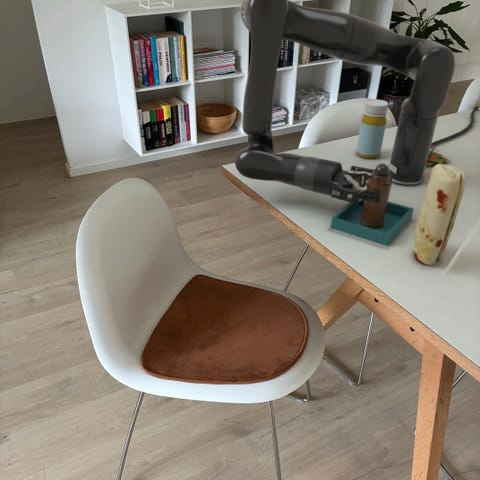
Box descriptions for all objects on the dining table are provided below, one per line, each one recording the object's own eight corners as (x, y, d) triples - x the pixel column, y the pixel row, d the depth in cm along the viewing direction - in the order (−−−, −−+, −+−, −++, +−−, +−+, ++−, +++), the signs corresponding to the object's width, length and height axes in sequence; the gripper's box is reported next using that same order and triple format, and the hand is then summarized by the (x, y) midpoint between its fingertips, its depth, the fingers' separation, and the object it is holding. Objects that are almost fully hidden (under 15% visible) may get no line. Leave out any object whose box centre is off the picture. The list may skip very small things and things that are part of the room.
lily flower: (458, 164, 151) (463, 148, 148) (427, 171, 147) (431, 155, 144) (428, 150, 159) (432, 135, 156) (398, 156, 155) (401, 141, 152)
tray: (357, 204, 130) (360, 193, 128) (411, 220, 124) (414, 208, 122) (329, 230, 119) (331, 217, 117) (386, 248, 114) (389, 235, 112)
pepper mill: (365, 214, 124) (376, 157, 115) (387, 221, 122) (400, 163, 113) (355, 224, 120) (365, 165, 112) (378, 231, 118) (390, 171, 109)
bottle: (379, 160, 152) (390, 107, 143) (355, 158, 153) (364, 105, 144) (379, 151, 157) (389, 99, 148) (356, 149, 158) (364, 98, 149)
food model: (404, 245, 114) (427, 157, 102) (435, 247, 114) (461, 158, 101) (412, 270, 107) (437, 177, 94) (445, 272, 106) (474, 179, 94)
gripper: (307, 170, 114) (380, 186, 108) (330, 149, 124) (398, 163, 118) (304, 202, 118) (373, 219, 113) (326, 179, 128) (391, 194, 123)
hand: (386, 190), depth 115 cm, fingers open, 8 cm apart
